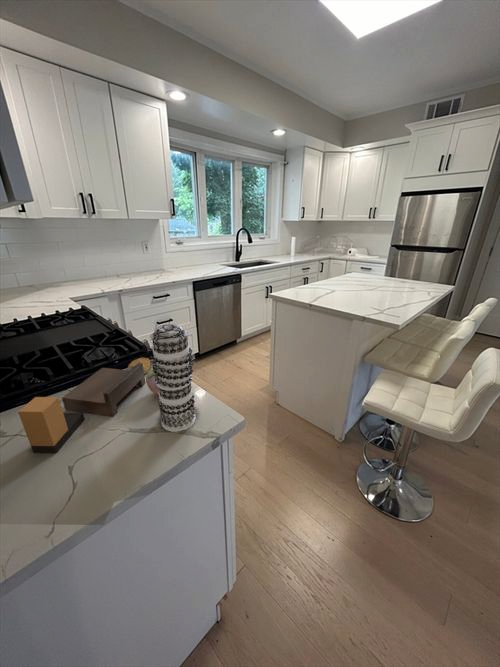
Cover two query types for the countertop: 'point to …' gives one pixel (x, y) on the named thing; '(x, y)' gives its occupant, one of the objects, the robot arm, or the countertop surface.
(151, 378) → the decorative fruit
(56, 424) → the two-tone stepped block
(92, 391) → the dark wooden riser stand
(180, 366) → the decorative candle
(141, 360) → the pastry
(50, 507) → the countertop surface
